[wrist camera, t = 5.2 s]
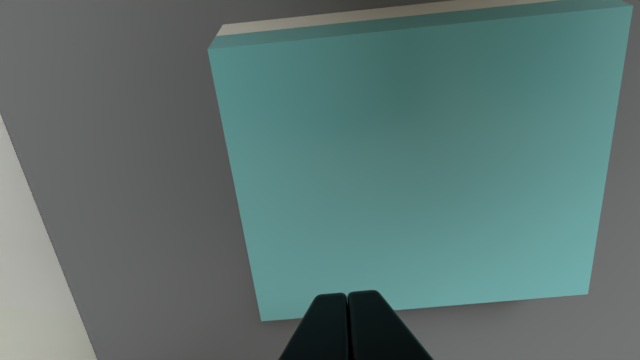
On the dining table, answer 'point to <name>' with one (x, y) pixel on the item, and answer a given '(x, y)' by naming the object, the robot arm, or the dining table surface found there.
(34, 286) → the dining table surface
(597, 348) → the mat
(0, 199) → the dining table surface
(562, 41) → the tile
